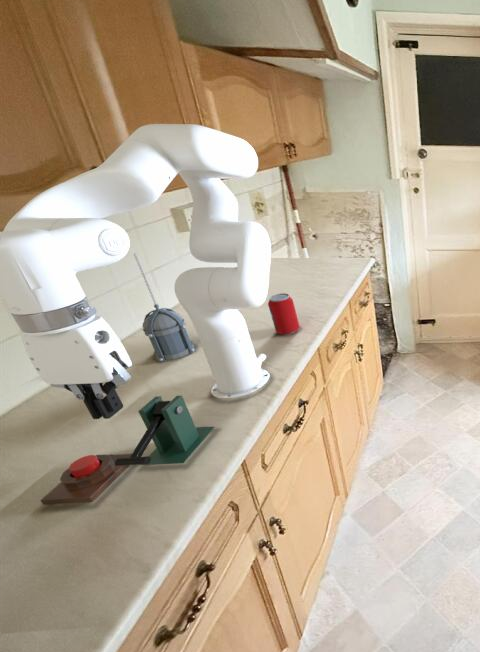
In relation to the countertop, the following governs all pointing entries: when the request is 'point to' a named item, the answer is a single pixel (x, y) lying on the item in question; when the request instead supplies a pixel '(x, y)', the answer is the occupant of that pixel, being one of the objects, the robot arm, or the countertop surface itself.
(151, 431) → the switch lever
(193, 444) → the switch bracket
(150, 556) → the countertop surface
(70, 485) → the control block
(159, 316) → the lantern
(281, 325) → the beverage can
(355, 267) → the countertop surface
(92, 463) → the red button
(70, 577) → the countertop surface
